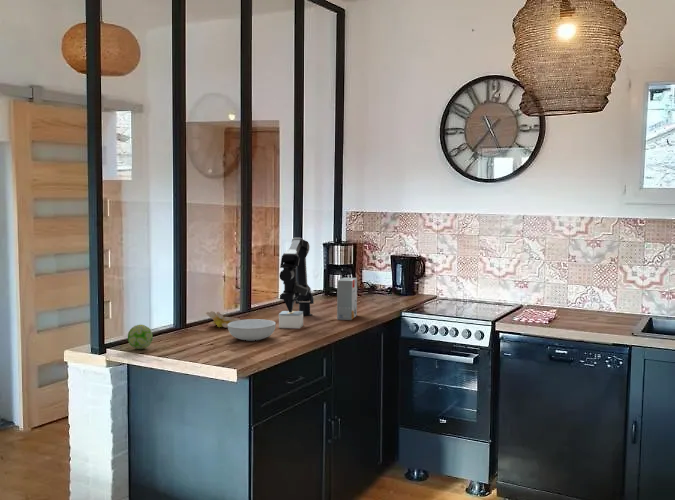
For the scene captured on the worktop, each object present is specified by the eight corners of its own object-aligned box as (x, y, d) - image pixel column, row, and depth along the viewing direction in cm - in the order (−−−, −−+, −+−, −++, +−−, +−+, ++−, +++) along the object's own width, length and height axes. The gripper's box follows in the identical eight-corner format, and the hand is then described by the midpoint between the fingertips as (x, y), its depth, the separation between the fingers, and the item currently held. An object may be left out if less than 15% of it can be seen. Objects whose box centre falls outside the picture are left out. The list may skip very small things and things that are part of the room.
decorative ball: (122, 349, 277) (122, 325, 276) (142, 345, 285) (141, 321, 284) (139, 352, 271) (138, 328, 270) (158, 348, 279) (157, 324, 279)
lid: (282, 312, 330) (282, 310, 330) (303, 312, 328) (303, 311, 328) (278, 315, 322) (278, 313, 322) (299, 315, 321) (299, 314, 320)
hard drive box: (351, 320, 341) (351, 281, 340) (336, 320, 343) (336, 280, 341) (357, 315, 357) (357, 277, 355) (342, 314, 358) (342, 277, 357)
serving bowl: (223, 336, 304) (223, 320, 304) (269, 332, 312) (268, 317, 311) (233, 345, 285) (232, 329, 284) (281, 341, 292) (281, 325, 292)
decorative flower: (245, 322, 326) (240, 303, 324) (228, 332, 317) (223, 311, 315) (224, 321, 335) (219, 302, 333) (207, 330, 327) (202, 310, 325)
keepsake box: (282, 324, 330) (282, 312, 330) (303, 325, 329) (303, 313, 328) (279, 327, 322) (278, 315, 322) (299, 328, 321) (299, 315, 321)
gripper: (303, 282, 312) (303, 315, 313) (310, 277, 330) (311, 309, 332) (279, 281, 314) (279, 315, 315) (288, 277, 332) (288, 308, 333)
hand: (290, 312), depth 324 cm, fingers closed
